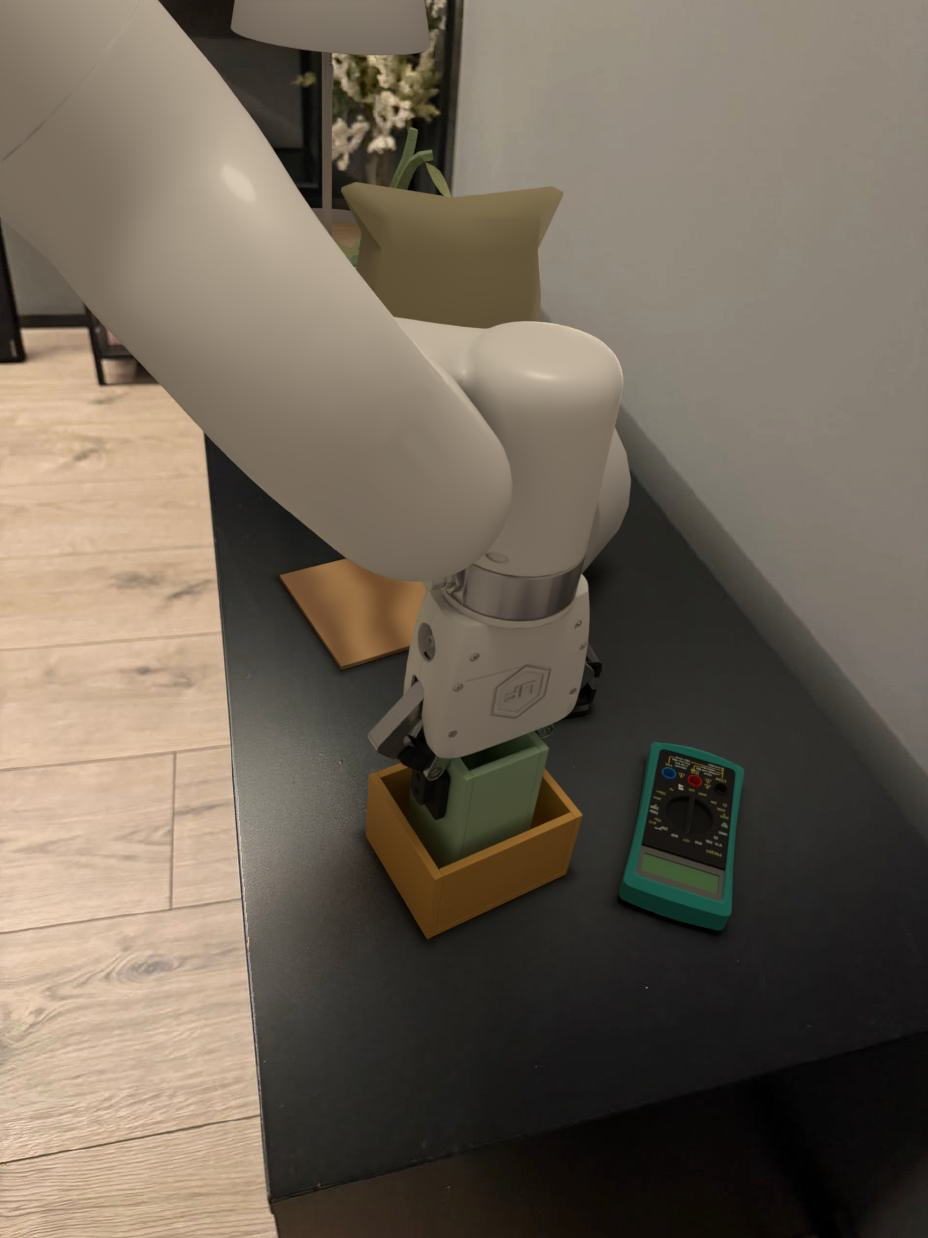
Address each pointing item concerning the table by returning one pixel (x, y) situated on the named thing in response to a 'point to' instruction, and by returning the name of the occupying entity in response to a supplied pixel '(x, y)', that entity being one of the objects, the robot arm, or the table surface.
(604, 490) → the alarm clock
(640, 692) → the table surface
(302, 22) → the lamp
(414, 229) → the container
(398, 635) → the cork mat
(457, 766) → the sage tub
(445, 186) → the potted plant
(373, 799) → the ochre bin
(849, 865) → the table surface
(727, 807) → the digital multimeter
